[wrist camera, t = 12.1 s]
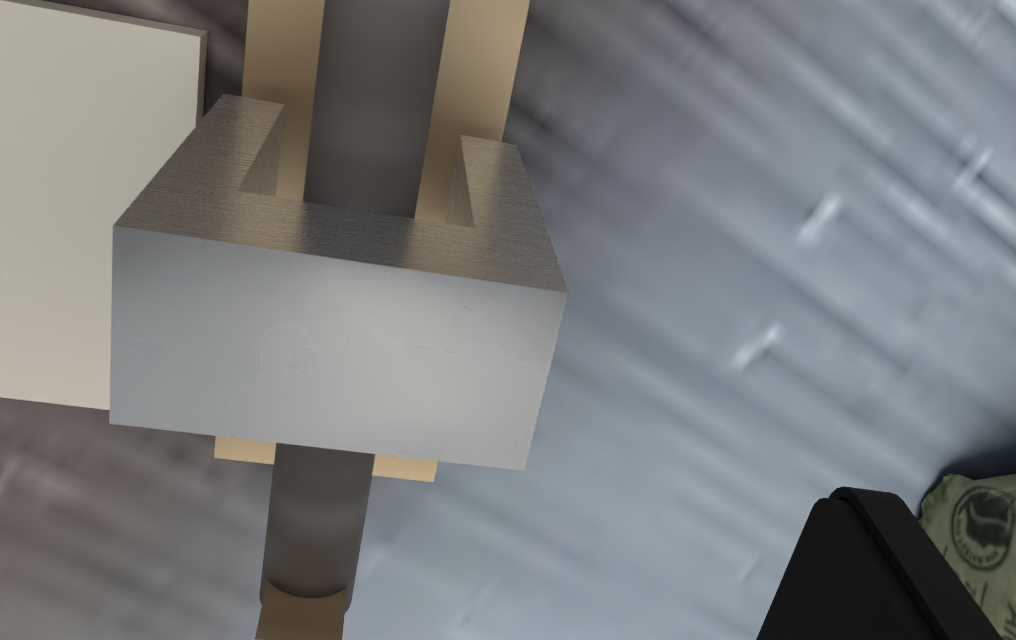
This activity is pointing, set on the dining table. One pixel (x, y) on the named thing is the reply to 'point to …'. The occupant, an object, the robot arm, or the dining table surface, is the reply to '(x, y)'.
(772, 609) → the robot arm
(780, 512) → the dining table surface
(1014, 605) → the pouch
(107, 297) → the square tile
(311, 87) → the rail stand
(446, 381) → the notched grey block
